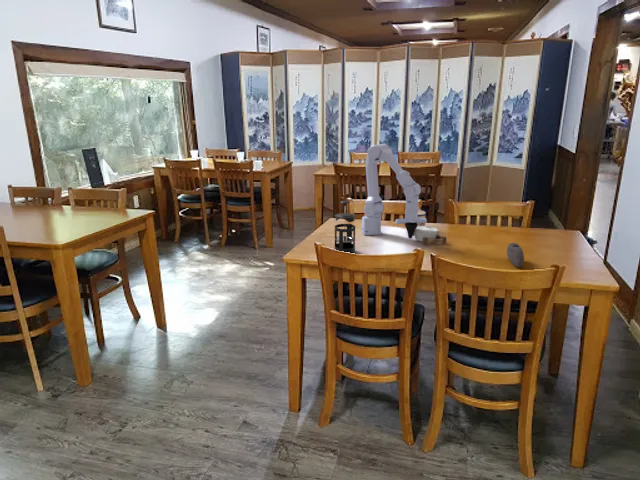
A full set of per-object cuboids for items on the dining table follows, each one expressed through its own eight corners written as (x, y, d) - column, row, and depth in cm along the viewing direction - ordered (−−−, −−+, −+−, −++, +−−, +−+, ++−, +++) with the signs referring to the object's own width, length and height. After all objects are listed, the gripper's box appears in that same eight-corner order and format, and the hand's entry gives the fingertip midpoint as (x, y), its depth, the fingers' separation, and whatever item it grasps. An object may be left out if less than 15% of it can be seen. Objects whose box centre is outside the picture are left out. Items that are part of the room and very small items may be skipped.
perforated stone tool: (526, 270, 170) (528, 253, 168) (511, 269, 171) (513, 253, 169) (518, 258, 184) (520, 242, 182) (505, 257, 185) (506, 241, 183)
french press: (350, 257, 186) (350, 204, 180) (329, 255, 190) (329, 202, 183) (359, 250, 196) (360, 199, 190) (340, 247, 200) (340, 197, 194)
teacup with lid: (423, 232, 222) (424, 210, 219) (405, 230, 226) (406, 208, 222) (427, 226, 233) (428, 205, 229) (410, 225, 236) (411, 203, 233)
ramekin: (441, 239, 211) (442, 228, 209) (429, 244, 203) (429, 233, 202) (421, 234, 218) (421, 224, 217) (408, 239, 211) (409, 229, 209)
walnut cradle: (424, 245, 203) (424, 238, 202) (411, 235, 218) (412, 228, 217) (446, 243, 204) (446, 237, 203) (432, 234, 220) (432, 227, 219)
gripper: (399, 212, 201) (397, 240, 205) (429, 211, 203) (427, 239, 207) (394, 209, 208) (393, 236, 212) (424, 207, 209) (422, 235, 213)
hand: (410, 237), depth 210 cm, fingers closed
